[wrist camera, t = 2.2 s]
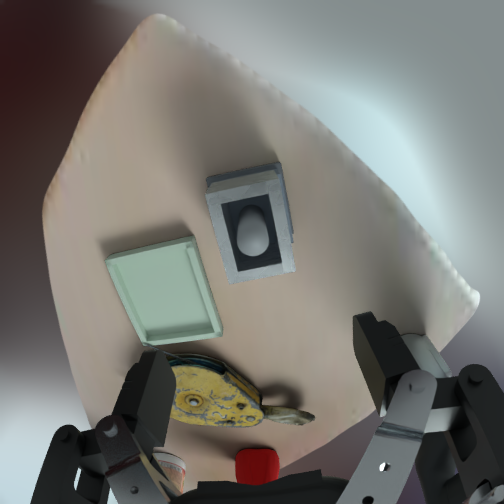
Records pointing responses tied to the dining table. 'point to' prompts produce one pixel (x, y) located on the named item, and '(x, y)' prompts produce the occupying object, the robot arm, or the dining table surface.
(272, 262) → the gray open box
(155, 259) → the tray
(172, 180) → the dining table surface
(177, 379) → the pulley block
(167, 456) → the fruit juice
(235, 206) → the grey peg stand
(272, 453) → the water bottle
